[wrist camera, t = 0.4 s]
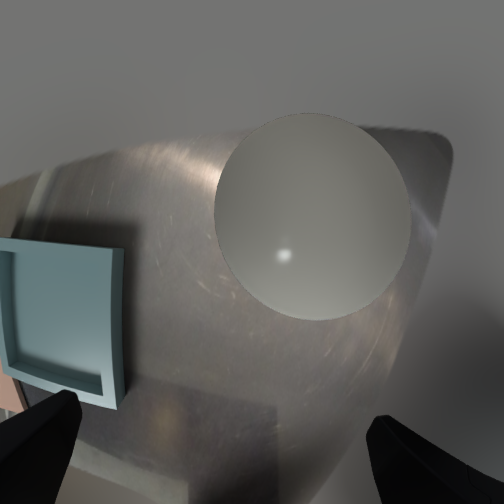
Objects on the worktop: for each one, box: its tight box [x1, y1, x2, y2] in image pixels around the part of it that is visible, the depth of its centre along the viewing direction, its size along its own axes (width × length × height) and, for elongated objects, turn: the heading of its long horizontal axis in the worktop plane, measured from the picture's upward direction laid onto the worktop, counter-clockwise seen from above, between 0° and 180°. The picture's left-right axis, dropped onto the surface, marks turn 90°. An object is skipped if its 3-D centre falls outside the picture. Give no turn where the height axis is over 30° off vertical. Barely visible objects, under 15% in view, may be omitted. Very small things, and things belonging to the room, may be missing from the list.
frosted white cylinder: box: [214, 113, 411, 320], centre depth 14 cm, size 6×6×13 cm
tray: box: [0, 237, 125, 410], centre depth 18 cm, size 12×12×2 cm
